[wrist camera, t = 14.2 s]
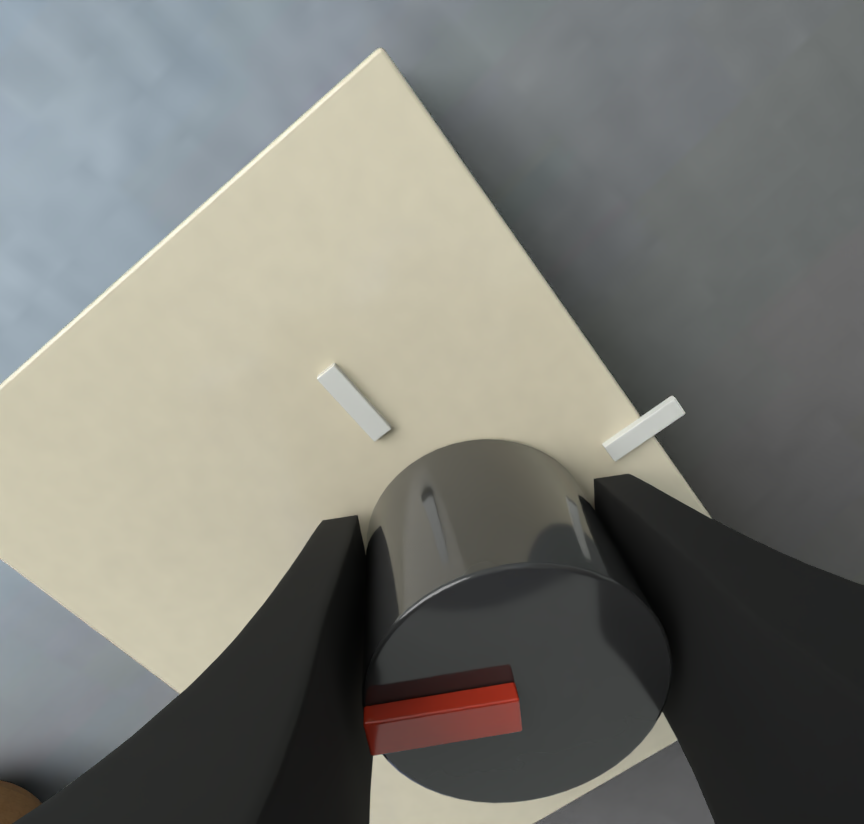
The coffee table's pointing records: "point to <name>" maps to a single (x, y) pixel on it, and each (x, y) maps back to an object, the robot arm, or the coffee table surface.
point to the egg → (15, 802)
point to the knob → (503, 629)
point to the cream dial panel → (300, 394)
